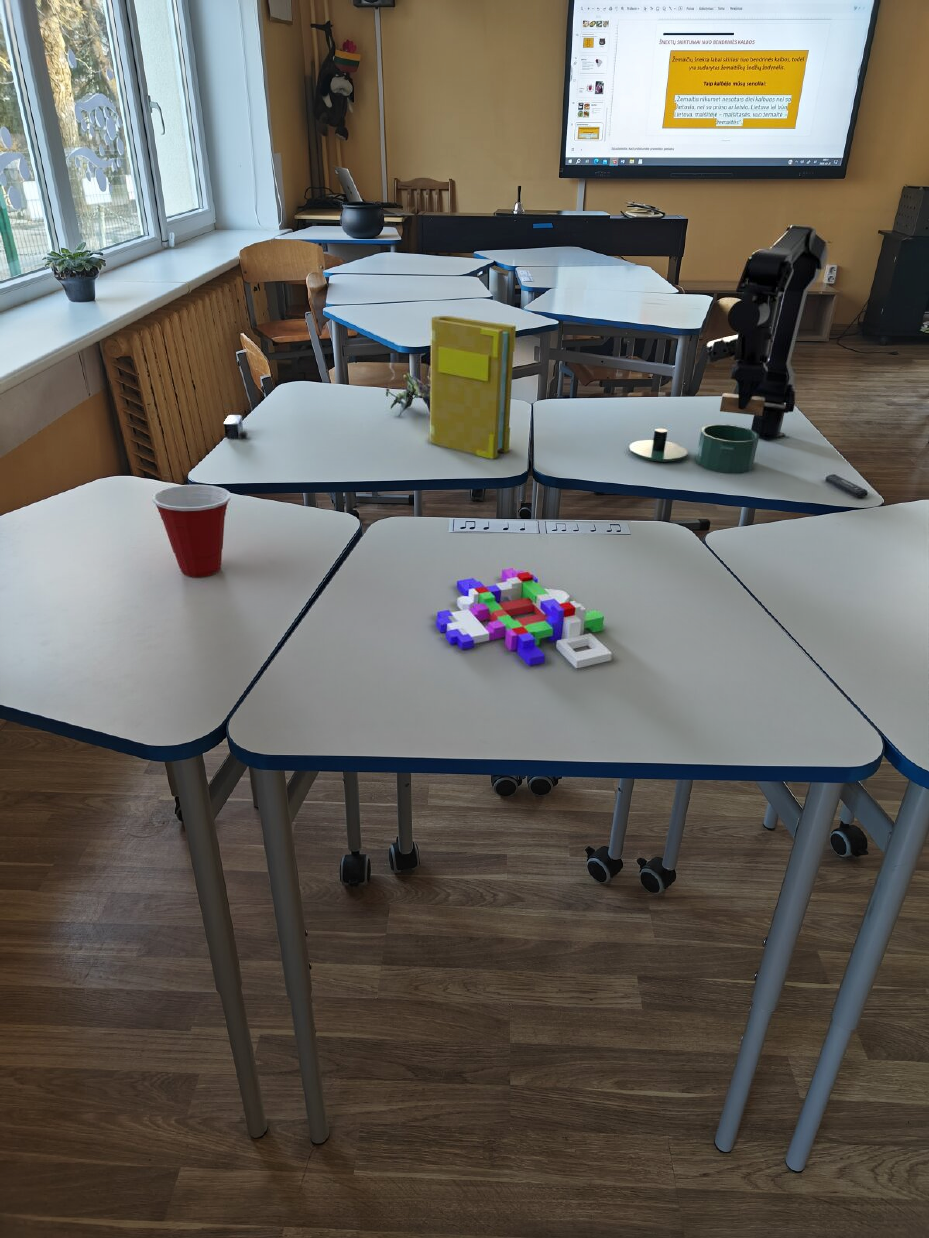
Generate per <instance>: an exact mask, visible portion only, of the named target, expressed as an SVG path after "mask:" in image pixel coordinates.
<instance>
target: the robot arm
mask: <svg viewBox="0 0 929 1238" xmlns="http://www.w3.org/2000/svg"><path fill="white" fill-rule="evenodd" d="M828 254H829V253H828V246H827V242H826V241H825V240H824V239H823V238H821V237H820V236H819V235H817V232H816V229H815V228H814V227H812V226H810V225H809V226H807V225H796V224H793V225H788V226H787V227H786V230H785V233H784V234H783V235H782V236H781V237H780V238H779V239H778V240H777V241H776V242H775V243H774V244H773V245H772V246H771V247H768V248H760V249H758V250H755V251H754V252H753V253H752V254H751V256H750V257H748V258H747V261H746V262H745V265H744V267H743V270H742V273H741V276H740V277H739V278H740V279H739V281H738V284H737V287H736V289H735V292H736V293H739V294H742V295H741V299H740V300H737V301H736V302H734V303H733V304H732V306H731V307H730V308H729V311H728V313H727V323H728V325H729V327H730V328H731V330H732V331H734V332H736V333H737V334H736V335H731V336H726V337H721V338H718V339H714V340H711V341H708V342H707V343H706V350H707V356H708V362H709V363H716V362H718V361H720V360H725V359H728V358H731V357H733V361H736V362H734V363H733V365H732V370H731V375H730V379H732V380H735V382H736V383H737V385H738V388H737V390H738V392H737V393H738V394H737V395H738V398H739V409H745V407H746V406H747V404H748V403H749V401H750V400H751V398H752V396H756V397H765V403H764V407H763V412H762V416H758V415H753V418H752V421H751V422H752V423H751V428H749V429H750V430H753V431H755V432H756V433H757V434H759V439H763V440H765V441H772V440H775V439H779V438H783V437H786V434H787V433H785V432H783V431H782V426H783V422H784V417H785V414H788V413H793V412H794V409H795V406H796V389H795V384H794V381H795V373H794V371H793V367H792V364H791V360H792V356H793V352H794V348H795V344H796V339H797V336H798V332H799V327H800V323H801V319H802V315H803V311H804V307H805V302H806V299H807V295H808V291H809V290H810V289H811V287H812V286H813V285H814V284H815V283H816V282H817V281H818V280H819V278H820V276H821V272H822V270H824V268H825V267H826V264H827V260H828ZM782 294H783V295H782ZM781 296H782V300H781V304H780V308H779V313H778V317H777V320H776V315H777V311H778V306H779V305H778V304H779V297H781ZM775 321H776V325H775ZM774 325H775V330H774ZM773 330H774V334H773ZM772 337H773V338H772ZM771 341H772V342H771ZM770 344H771V347H770ZM769 349H770V351H769ZM768 354H769V355H768Z"/></svg>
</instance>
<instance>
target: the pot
mask: <svg viewBox="0 0 929 1238" xmlns="http://www.w3.org/2000/svg"><path fill="white" fill-rule="evenodd" d="M750 429H751V428H748V427H743V426H740V425H736V424H728V423H723V424H722V423H721V424H718V423H717V424H710V425H709V424H708V425H705V426H703V427H701V430H700V435H699V440H698V445H697V452H696V458H695V463H696V464H697V465H699V466H700V467H702V468H704V469H706V470H709V471H714V472H718V473H723V474H724V473H725V474H741V473H747V472H749V471H751V470H752V469H753V467H754V462H755V458H756V453H757V449H758V443H759V439H760V438H759V434H757V433H756V432H755V431H753V430H750Z"/></svg>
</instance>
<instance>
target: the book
mask: <svg viewBox="0 0 929 1238" xmlns="http://www.w3.org/2000/svg"><path fill="white" fill-rule="evenodd" d="M516 330H517V326H516V325H513V324H506V323H500V322H498V323H496V322H490V321H483V320H477V319H470V318H465V317H458V316H452V315H451V316H450V315H440V316H438V315H437V316H433V317H431V318H430V377H431V386H430V390H429V391H430V412H429V416H430V418H429V442H430V443H431V444H433V445H436V446H440V447H444V448H448V449H453V450H456V451H461V452H465V453H469V454H474V455H476V456H478V457H483V458H486V459H490V460H494V459H495V458H497V457H498V452H499V453H503V454H505V453H507V452H509V451H510V437H511V427H510V420H511V419H510V418H511V401H512V383H513V367H514V366H513V365H514V352H515V348H516Z"/></svg>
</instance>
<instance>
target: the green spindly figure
mask: <svg viewBox="0 0 929 1238" xmlns="http://www.w3.org/2000/svg"><path fill="white" fill-rule="evenodd" d="M426 376H427V377H426V378H427V379H428V382H429V383H428V385H427V384H424V383H423V382H422V380H420V379H419V378H417V376H416V375H414V374H413V375H411V373H409V372H407V373H406V374H404V375H403V379H404V381H405V382H406V383H407V387H405V389H404V390H403V391H402V393H400V392H399V393H397V394H396V395H394V394H393V393H392V392H390V388H385V396H386V397H389V394H390V396H393V397H394V399H393V402H392V403H391V405H390V410H391V409H393V408H394V407H395V406H396V404H399V405H400V412H399V414H398V418H400V416H401V415H402V413H403V412H404V411H405V410H407V409H408V408H410V407H411V406H412V404H413V401H414V399H422V400H423V401H422V402H424V404H426V406H427V409H428V412H429V413H430V390H431V375H426Z"/></svg>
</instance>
